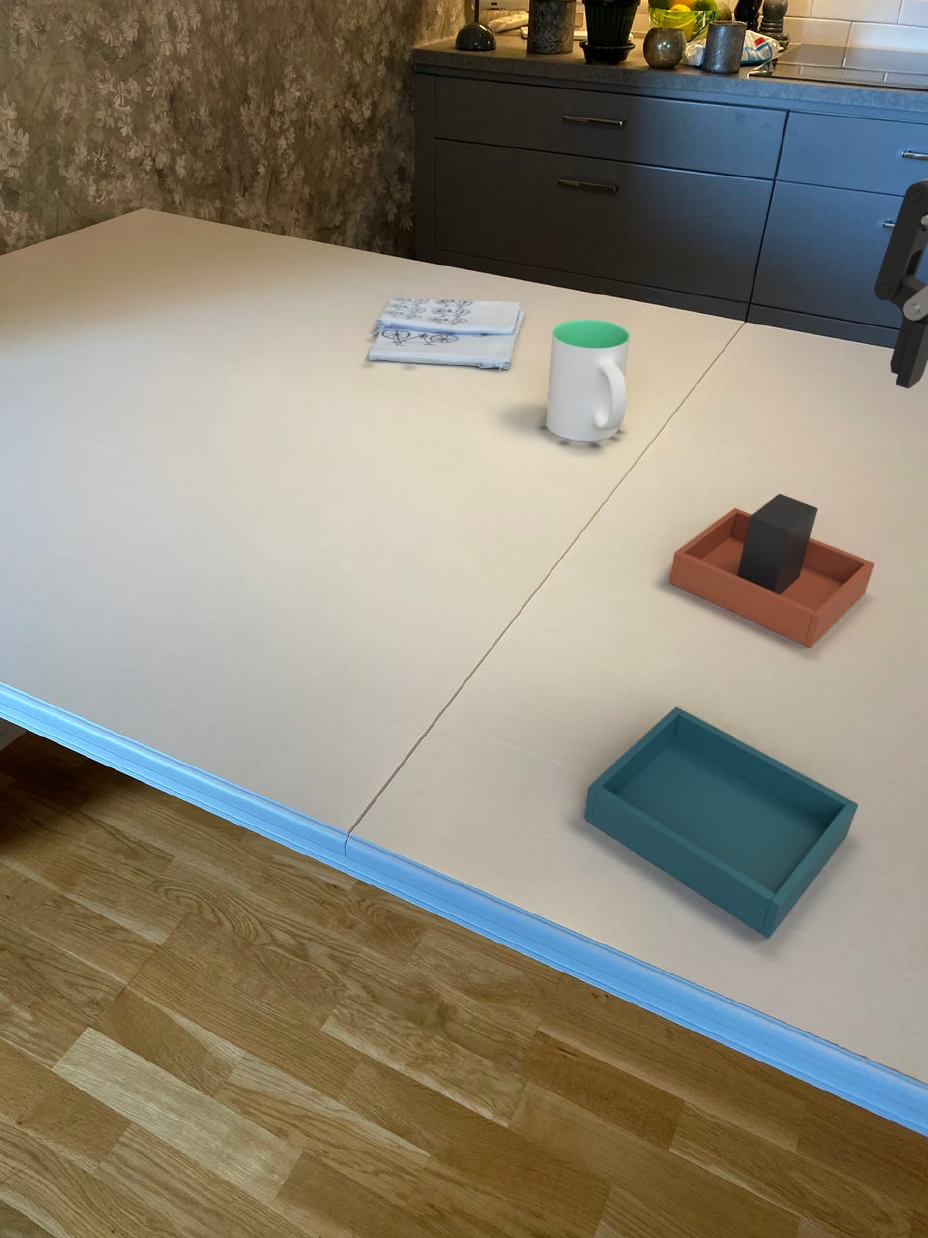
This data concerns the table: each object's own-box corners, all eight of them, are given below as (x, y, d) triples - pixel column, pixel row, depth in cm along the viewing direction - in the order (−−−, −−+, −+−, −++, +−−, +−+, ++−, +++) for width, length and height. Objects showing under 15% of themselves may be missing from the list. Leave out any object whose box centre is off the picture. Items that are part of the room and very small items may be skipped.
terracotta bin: (865, 593, 84) (875, 563, 82) (810, 648, 77) (819, 617, 76) (728, 536, 90) (734, 507, 89) (668, 582, 84) (673, 552, 83)
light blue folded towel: (525, 315, 135) (526, 299, 134) (510, 373, 119) (510, 356, 118) (390, 306, 137) (390, 291, 136) (357, 363, 121) (356, 346, 120)
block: (799, 577, 84) (818, 507, 80) (771, 603, 81) (789, 531, 77) (762, 562, 86) (779, 492, 82) (734, 586, 83) (749, 515, 79)
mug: (651, 449, 104) (664, 356, 98) (584, 463, 101) (593, 367, 95) (597, 404, 113) (606, 315, 106) (534, 415, 110) (539, 325, 104)
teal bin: (846, 837, 62) (859, 804, 60) (769, 939, 56) (780, 906, 54) (669, 738, 69) (676, 705, 67) (583, 819, 63) (588, 786, 61)
